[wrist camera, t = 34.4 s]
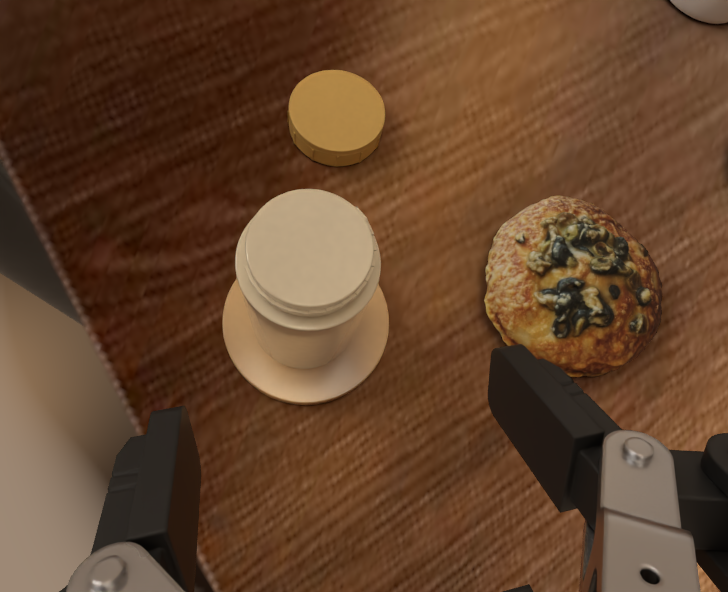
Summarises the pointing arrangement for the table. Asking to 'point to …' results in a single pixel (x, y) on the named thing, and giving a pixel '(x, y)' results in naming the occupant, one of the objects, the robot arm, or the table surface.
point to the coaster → (305, 382)
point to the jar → (307, 275)
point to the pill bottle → (704, 10)
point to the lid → (336, 117)
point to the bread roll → (572, 287)
